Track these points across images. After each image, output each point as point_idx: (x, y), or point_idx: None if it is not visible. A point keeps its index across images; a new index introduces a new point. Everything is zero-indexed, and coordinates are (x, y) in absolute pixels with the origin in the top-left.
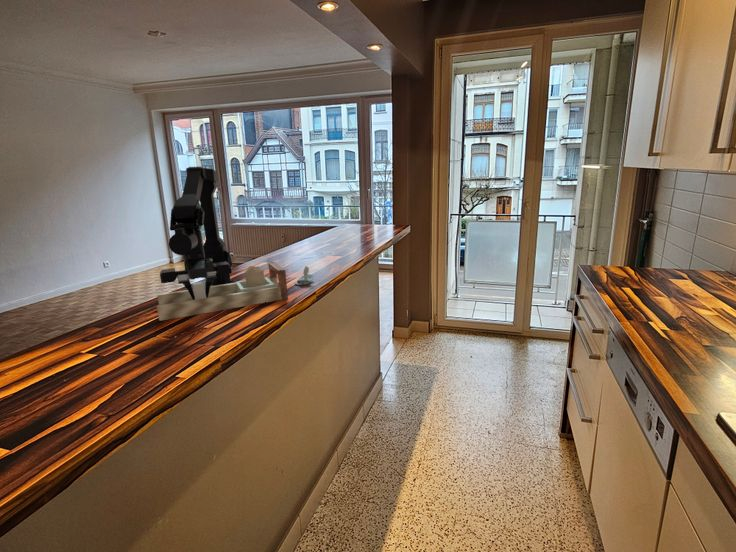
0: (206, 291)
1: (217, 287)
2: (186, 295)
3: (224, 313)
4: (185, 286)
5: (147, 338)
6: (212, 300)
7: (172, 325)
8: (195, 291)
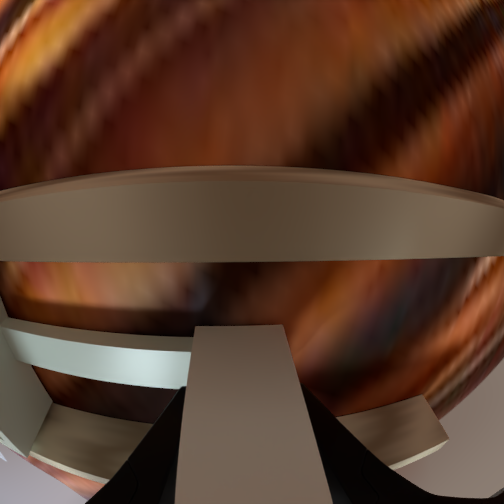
0: (169, 445)
1: None
2: None
3: (80, 77)
4: (423, 492)
5: (496, 8)
6: (92, 185)
7: (452, 56)
8: (300, 456)
